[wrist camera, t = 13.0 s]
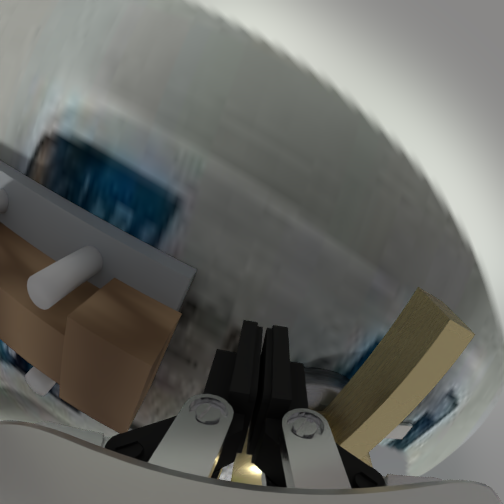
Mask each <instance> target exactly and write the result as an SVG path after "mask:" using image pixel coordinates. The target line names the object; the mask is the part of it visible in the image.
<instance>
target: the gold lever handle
mask: <svg viewBox="0 0 504 504" xmlns="http://www.w3.org/2000/svg"><path fill="white" fill-rule="evenodd" d="M474 335H475V334H474V333H473V332H472V331H471V330H470V329H469V328H468V327H467V326H466V325H465V324H464V323H463V322H462V321H461V320H460V319H459V318H458V317H457V316H456V315H455V314H454V313H453V312H452V311H451V310H450V309H449V308H448V307H447V306H446V305H445V304H444V303H443V302H442V301H440V300H439V299H437V298H435V297H434V296H432V295H431V294H429V293H427V292H426V291H424V290H422V289H421V288H419V287H418V288H417V290H416V291H415V293H414V294H413V296H412V297H411V299H410V301H409V302H408V304H407V305H406V307H405V308H404V309H403V311H402V312H401V314H400V315H399V317H398V318H397V320H396V321H395V322H394V324H393V325H392V327H391V328H390V329H389V331H388V332H387V334H386V335H385V336H384V338H383V339H382V340H381V342H380V343H379V344H378V346H377V347H376V348H375V350H374V351H373V352H372V354H371V355H370V356H369V357H368V359H367V360H366V361H365V362H364V364H363V365H362V366H361V367H360V369H359V370H358V371H357V372H356V373H355V375H354V376H353V377H352V378H351V379H350V381H349V382H348V383H347V384H346V385H345V387H344V388H343V389H342V390H341V391H340V392H339V393H338V395H337V396H336V397H335V398H334V399H333V400H332V401H331V402H330V404H329V405H328V406H327V407H326V408H325V409H324V410H323V411H316V412H318V413H319V414H321V415H322V416H323V417H324V418H325V419H326V420H327V422H328V424H329V426H330V429H331V432H332V435H333V437H334V440H335V443H337V444H338V445H340V446H341V447H342V448H344V449H345V450H347V451H348V452H350V453H351V454H352V455H354V456H355V457H357V458H358V459H360V460H361V461H363V462H364V463H366V464H367V465H369V466H370V467H372V463H371V459H370V455H369V451H370V450H372V449H373V448H374V447H375V446H376V445H377V444H378V443H380V442H381V441H382V440H383V439H384V438H385V437H386V436H387V435H388V434H389V433H390V432H391V431H393V430H394V429H395V428H396V427H397V426H398V425H399V424H400V423H401V422H402V421H403V420H404V419H405V418H406V417H407V416H408V415H409V414H410V413H411V412H412V411H413V410H414V409H415V408H416V407H417V405H418V404H419V403H420V402H421V401H422V400H423V399H424V398H425V397H426V396H427V395H428V393H429V392H430V391H431V390H432V389H433V388H434V387H435V385H436V384H437V383H438V382H439V381H440V380H441V378H442V377H443V376H444V375H445V374H446V372H447V371H448V370H449V369H450V367H451V366H452V365H453V364H454V362H455V361H456V360H457V359H458V357H459V356H460V355H461V353H462V352H463V351H464V349H465V348H466V347H467V345H468V344H469V342H470V341H471V340H472V338H473V337H474ZM248 433H249V428H248V432H247V436H246V439H245V443H244V446H243V450H242V453H237V454H236V458H235V461H234V465H233V471H232V478H231V481H232V482H238V483H245V484H253V485H262V481H261V473H262V471H261V470H260V469H259V468H258V467H257V466H256V465H255V464H252V463H251V460H252V455H248V454H246V451H247V442H248ZM372 468H373V467H372Z"/></svg>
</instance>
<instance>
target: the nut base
mask: <svg viewBox="0 0 504 504" xmlns="http://www.w3.org/2000/svg"><path fill="white" fill-rule="evenodd" d="M304 372H305V381H306V390H307V399H308V409H310V410H313V411H323V410H324V409H325V408H326V407H327V406H328V405H329V404H330V402H331V401H332V400H333V399H334V398H335V397H336V396H337V395H338V393H339V392H340V391H341V390H342V389H343V388H344V387H345V385H346V384H347V383H348V382H349V381H350V379H348V378H347V377H345V376H343V375H341V374H339V373H336V372H333V371H330V370H325V369H320V368H304ZM411 427H412V424H411V423H400V424H399V425H398V426H397V427H396V428H395V429H394V430H393V431H391V432H390V433H389V434H388V435H387V436H386V437H385V438H391V439H402V438H403V437H404V436H405V435H406V433H407V432H408V431H409V430H410V429H411Z"/></svg>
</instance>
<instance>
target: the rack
mask: <svg viewBox="0 0 504 504" xmlns="http://www.w3.org/2000/svg"><path fill="white" fill-rule="evenodd" d="M0 222H1V223H3V224H4V225H5V226H7V227H8V228H9V229H11V230H12V231H13V232H15V233H16V234H17V235H19V236H20V237H22V238H23V239H24V240H26V241H27V242H29V243H30V244H31V245H33V246H34V247H36V248H37V249H39V250H40V251H41V252H43V253H44V254H46V255H47V256H49V257H50V258H52V259H53V260H55V261H56V262H55V263H53V264H51V265H49V266H48V267H46V268H44V269H42V270H40V271H39V272H37V273H35V274H33V275H32V276H30V277H29V279H28V281H27V290H28V294H29V296H30V298H31V300H32V301H33V303H34V304H35V305H36V306H37V307H39V308H41V309H44V310H46V309H49V308H50V307H51V306H53V305H54V304H55V303H57V302H58V301H59V300H61V299H62V298H63V297H65V296H66V295H68V294H69V293H70V292H72V291H73V290H74V289H76V288H77V287H78V286H80V285H81V284H83V283H84V282H85V281H88V282H90V283H91V284H93V285H95V286H96V287H98V288H100V289H101V288H102V287H103V286H104V285H106V284H107V283H108V282H109V281H111V280H112V279H113V278H114V277H115V278H116V279H118V280H120V281H122V282H123V283H125V284H127V285H129V286H131V287H132V288H134V289H136V290H138V291H140V292H142V293H143V294H145V295H147V296H149V297H151V298H153V299H155V300H157V301H158V302H160V303H162V304H164V305H166V306H168V307H170V308H172V309H174V310H176V311H179V309H180V307H181V304H182V302H183V300H184V298H185V295H186V293H187V291H188V289H189V287H190V284H191V282H192V280H193V278H194V276H195V273H196V271H197V269H195V268H193V267H191V266H189V265H187V264H185V263H183V262H181V261H179V260H177V259H175V258H173V257H171V256H170V255H168V254H166V253H164V252H162V251H160V250H158V249H156V248H154V247H152V246H150V245H149V244H147V243H145V242H143V241H141V240H139V239H137V238H135V237H133V236H132V235H130V234H128V233H126V232H124V231H122V230H120V229H119V228H117V227H115V226H113V225H111V224H109V223H108V222H106V221H104V220H102V219H100V218H99V217H97V216H95V215H93V214H91V213H90V212H88V211H86V210H84V209H82V208H81V207H79V206H77V205H75V204H74V203H72V202H70V201H68V200H67V199H65V198H63V197H61V196H60V195H58V194H56V193H54V192H53V191H51V190H49V189H47V188H46V187H44V186H42V185H41V184H39V183H37V182H36V181H34V180H32V179H30V178H29V177H27V176H25V175H24V174H22V173H20V172H19V171H17V170H16V169H14V168H12V167H11V166H9V165H7V164H6V163H4V162H2V161H1V160H0ZM25 379H26V382H27V384H28V385H29V387H30V388H31V389H32V390H33V391H34V392H35V393H37V394H38V395H40V396H45V395H46V394H47V393H48V391H49V390H50V389H51V388H52V387H53V386H54V384H55V383H56V382H55V381H53V380H52V379H51V378H49V377H48V376H46V375H45V374H44V373H42V372H41V371H39V370H38V369H37V368H35V367H34V366H33V367H32V368H31V369H30V370H29V371H28V373H27V374H26V375H25Z"/></svg>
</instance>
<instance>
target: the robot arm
mask: <svg viewBox="0 0 504 504" xmlns="http://www.w3.org/2000/svg"><path fill="white" fill-rule="evenodd" d="M257 325H258V322H252V321H246V320H244V321H243V326H242V331H241V336H240V341H239V346H238V351H237V353H235V352H229V351H224V350H219V349H217V351H216V354H215V357H214V360H213V364H212V367H211V370H210V373H209V377H208V380H207V383H206V387H205V390H204V393H203V394H199V395H195V396H193V397H191V398H189V399H188V400H187V401H186V402H185V404H184V405H183V407H182V408H181V410H180V412H179V413H178V415H177V416H174V417H171V418H169V419H166V420H163V421H160V422H157V423H154V424H150V425H147V426H144V427H141V428H138V429H134V430H131V431H128V432H124V433H121V434H118V435H115V436H113V437H112V438H109V437H104V434H103V433H99V432H93V431H88V430H84V429H79V428H74V427H70V426H66V425H62V424H58V423H54V422H50V421H41V422H37V423H36V424H34V423H27V422H21V421H0V504H502V502H501V500H500V499H499V497H498V495H497V494H496V493H495V492H494V491H493V490H492V489H491V488H490V487H489V486H487V485H485V484H482V483H478V482H474V481H466V480H441V479H438V478H434V477H415V476H403V475H393V474H387V476H386V477H384V476H382V475H381V474H380V473H379V472H377V471H376V470H375V469H373V468H372V467H370V466H369V465H367V464H366V463H364V462H363V461H361V460H360V459H358V458H357V457H355V456H354V455H352V454H351V453H350V452H348V451H347V450H345V449H344V448H342V447H341V446H340V445H338V444H337V443H335V440H334V437H333V435H332V432H331V429H330V426H329V424H328V422H327V420H326V419H325V418H324V417H323V416H322V415H321V414H319V413H318V412H316V411H313V410H310V409H308V399H307V390H306V381H305V372H304V365H303V363H297V362H290V355H289V338H288V328H287V327H281V326H275V325H273V327H272V329H271V328H267V330H266V334H265V339H264V343H263V347H262V352H261V343H262V331H263V327H259V326H257ZM248 428H249V433H248V442H247V451H246V454H248V455H252V460H251V463H252V464H255V465H256V466H257V467H258V468H259V469H260V470H261V471H262V473H261V481H262V485H253V484H245V483H238V482H232V481H225V480H220V479H219V477H220V474H221V472H222V468H223V467H225V466H227V465H229V464H230V463H232V462H234V461H235V458H236V454H237V453H242V450H243V446H244V443H245V439H246V436H247V432H248Z"/></svg>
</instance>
